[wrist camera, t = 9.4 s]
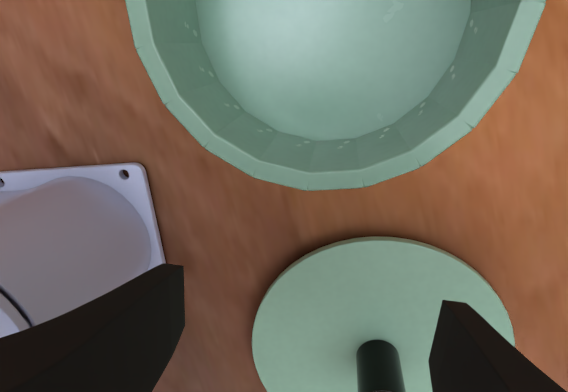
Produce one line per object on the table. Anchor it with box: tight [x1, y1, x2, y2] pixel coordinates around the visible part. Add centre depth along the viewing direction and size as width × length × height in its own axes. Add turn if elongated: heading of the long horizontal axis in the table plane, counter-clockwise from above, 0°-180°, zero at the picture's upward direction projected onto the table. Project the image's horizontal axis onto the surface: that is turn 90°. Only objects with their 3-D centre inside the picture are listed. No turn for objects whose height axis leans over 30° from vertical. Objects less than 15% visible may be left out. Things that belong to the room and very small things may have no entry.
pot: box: [125, 0, 546, 191], centre depth 15 cm, size 12×12×6 cm
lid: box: [252, 236, 515, 392], centre depth 21 cm, size 13×13×4 cm
